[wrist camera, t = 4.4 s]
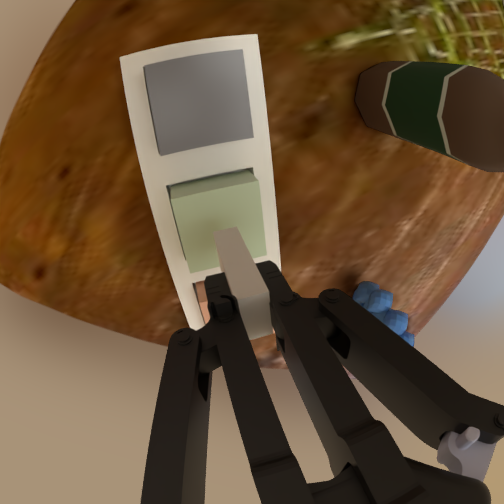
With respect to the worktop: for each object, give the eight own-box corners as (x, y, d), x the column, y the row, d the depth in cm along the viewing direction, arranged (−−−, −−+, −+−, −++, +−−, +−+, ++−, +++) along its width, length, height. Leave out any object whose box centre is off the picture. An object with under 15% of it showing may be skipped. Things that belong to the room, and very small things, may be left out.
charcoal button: (148, 70, 16) (144, 65, 14) (233, 55, 17) (242, 49, 14) (162, 148, 19) (160, 156, 17) (243, 132, 20) (253, 137, 18)
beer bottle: (337, 101, 23) (619, 208, 3) (376, 46, 20) (627, 89, 1) (386, 149, 26) (596, 273, 7) (419, 97, 24) (623, 176, 4)
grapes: (317, 278, 33) (372, 355, 23) (365, 250, 33) (430, 314, 23) (337, 332, 39) (378, 397, 29) (376, 308, 39) (423, 367, 29)
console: (126, 62, 17) (119, 57, 15) (247, 41, 18) (257, 34, 16) (193, 324, 31) (196, 344, 29) (275, 303, 33) (284, 321, 30)
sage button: (170, 186, 21) (170, 199, 18) (248, 169, 22) (258, 180, 19) (187, 253, 24) (190, 273, 22) (256, 237, 25) (266, 255, 22)
